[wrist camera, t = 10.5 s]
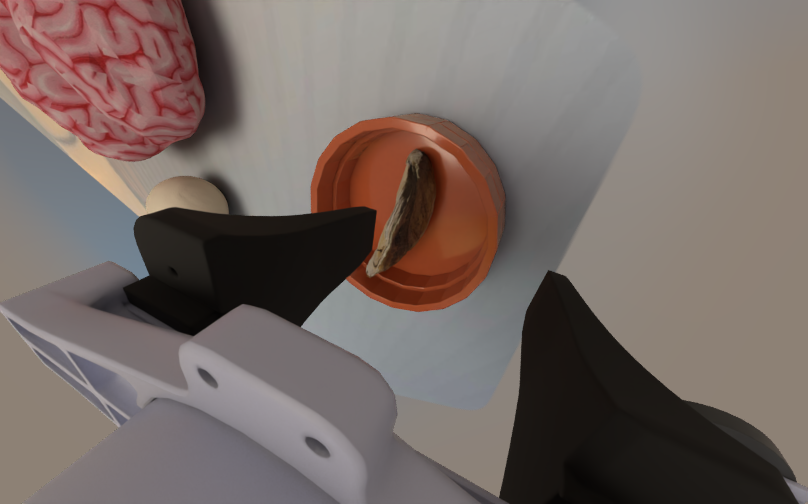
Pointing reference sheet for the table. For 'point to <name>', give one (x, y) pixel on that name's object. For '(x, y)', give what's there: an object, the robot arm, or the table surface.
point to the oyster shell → (406, 214)
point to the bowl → (452, 215)
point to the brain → (106, 70)
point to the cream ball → (186, 196)
